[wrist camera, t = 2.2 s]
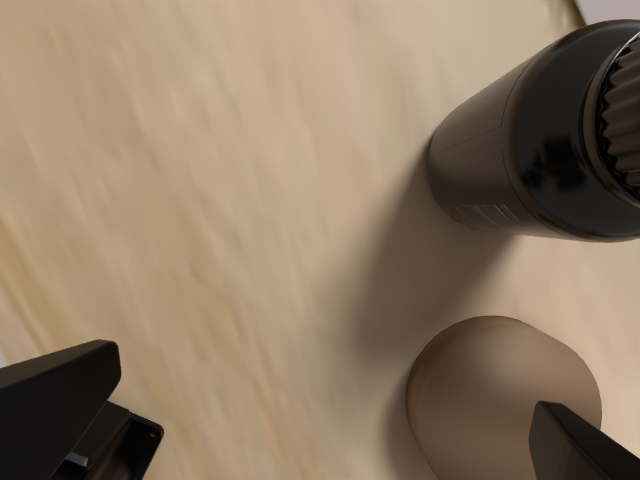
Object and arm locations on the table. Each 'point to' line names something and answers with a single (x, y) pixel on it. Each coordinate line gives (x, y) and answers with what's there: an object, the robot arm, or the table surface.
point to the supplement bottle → (550, 143)
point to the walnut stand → (492, 396)
